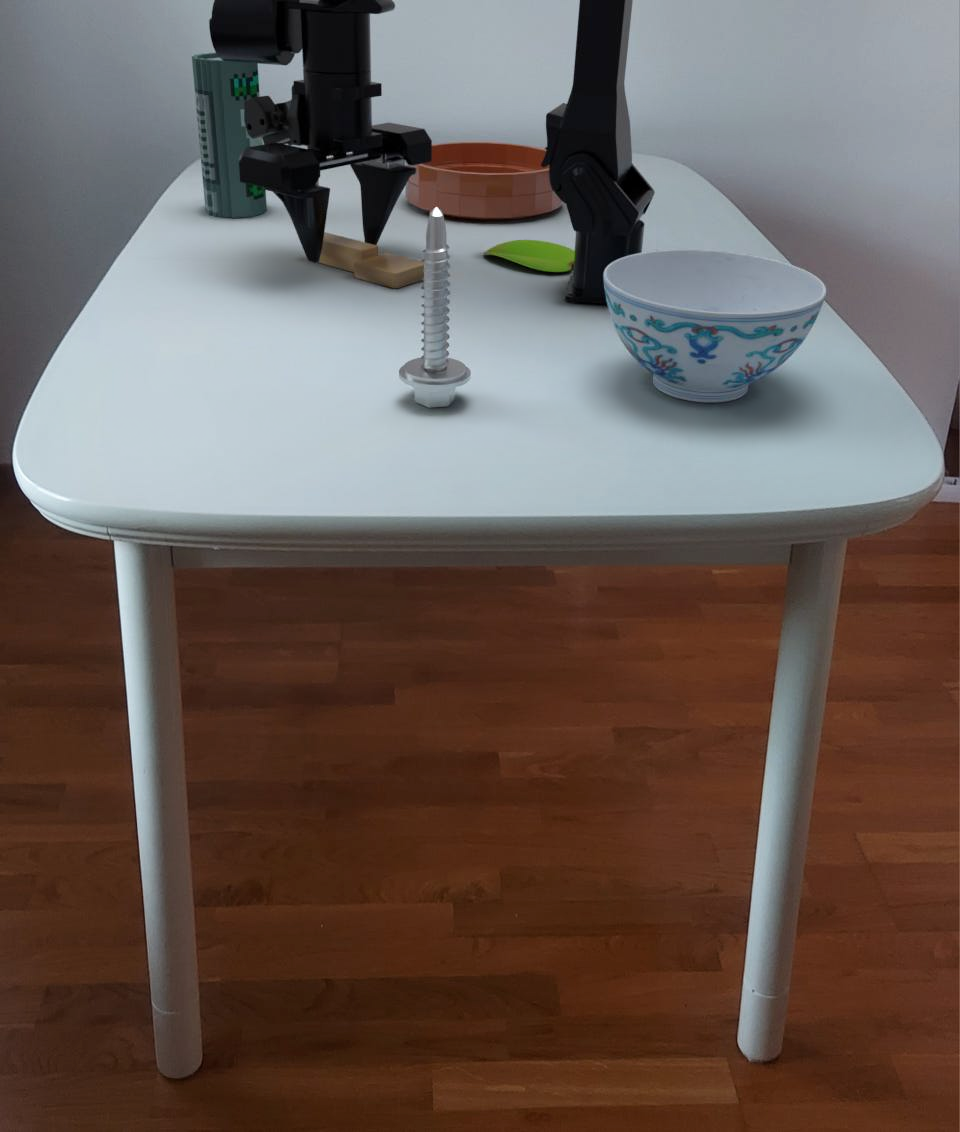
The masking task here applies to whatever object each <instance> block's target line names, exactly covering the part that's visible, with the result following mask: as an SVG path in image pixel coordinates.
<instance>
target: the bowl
mask: <svg viewBox="0 0 960 1132" xmlns="http://www.w3.org/2000/svg"><path fill="white" fill-rule="evenodd" d="M545 154H546V149H545V148H541V147H537V146H533V145H526V144H517V143H511V142H495V141H494V142H493V141H454V142H440V143H434V144H433V143H432V161H431V162H427V163H422V164H418V165H409V164H408V163H407V162H406V161H405V166H410V167H414V168H416V174H414V175H412V176H411V177H410V178H409V180H408V182H407V184H406V185H405V187H404V191H405V198H406V200H407V202H408V203H409V204H411V205H413V206H415V207H417V208H419V209H421V210H426V211H429V212H430V211H431V210H433V209H434V208H436V207H437V208H439V209H440V210H442V212H443V216H447V217H451V218H458V219H467V220H477V221H479V220H480V221H505V220H516V219H517V220H518V219H525V218H530V217H534V216H538V215H542V214H546V213H551V212H552V211H554V210H557V209H559V208H560V207H562V206H563V203H564V202H562V201H561V200H560V198H559V197H558V196H557V195H556V193H555V192H554V191H553V190H552V188H551V185H550V182H549V166H550V165H548V166H546V167H542V166H541V163H542V161H543V159H544V157H545Z"/></svg>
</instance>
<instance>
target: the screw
mask: <svg viewBox="0 0 960 1132" xmlns="http://www.w3.org/2000/svg"><path fill="white" fill-rule="evenodd" d="M425 233H426V234H425V248H424V249H423V250H422V253H424V257H423V259H421V260H420V261H421V262H424V268H423V269H421V270H422V271H424V277H423V278H422V281H423V286H421V289H422V290H423V295H421V296H420V297H421V298H422V299H423V303H422V304H421V305H420V306H421V307H422V308H423V312H422V313H421V314H420V315H421V316H422V317H423V321H421V322H420V324H421V325H422V326H423V329H422V330H421V331H420V333H421V334H423V338H422V339H420V340H421V342H422V343H423V347H421V348H420V349H421V351H422V352H423V355H422V356H420V357H416V358H413V359H410V360H408V361H406V362H405V363H404V364H403V365H401V367H399V369H398V378H399V380H400V381H401V382H402V383H403V384H406V385H408V386H410V387H412V388H414V403H417V404H419V405H421V406H424V407H426V408H428V409H429V408H430V409H431V408H442V407H444V408H446V407H449V406H450V405H451V404H452V403H453V401H454V400H455V397H456V391H455V390H456V389H457V388H459V387H462V386H464V385H465V384H467V383H469V382H470V380H471V378H472V375H471V372H472V371H471V369H470V368H469V367H468V366H467V365H466V364H465V363H463V362H462V361H461V360H458V359H455V358H451V357H449V355H450V352H449V351H448V349H449V348H450V343H449V342H448V340H449V339H450V335H449V333H448V331H449V330H450V325H448V323H449V322H450V316H448V314H449V313H450V311H451V310H450V308H449V307H448V305H450V303H451V301H450V299H449V298H448V297H449V296H450V295H451V291H450V290H449V289H448V288H449V287H450V286H451V282H450V281H449V280H448V279H449V278H450V277H451V273H450V272H449V269H450V268H451V264H450V262H449V260H450V258H451V255H450V254H449V253H448V250H449V249H450V246H449V244H447V229H446V222H445V215H443V212H442V210H440V209H439V208H437V207H436V208H434V209H433V210H431V211H429V217H428V221H427V226H426V232H425Z"/></svg>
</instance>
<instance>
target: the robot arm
mask: <svg viewBox="0 0 960 1132" xmlns="http://www.w3.org/2000/svg"><path fill="white" fill-rule="evenodd" d="M633 1H634V0H579V3H578V4H579V6H578V16H577V30H576V41H575V42H576V43H575V53H574V66H573V79H572V86H571V91H570V94H569V96H568V100H567V103H566V102H562V103H561V104H559V105H558V106H555V108H553V109H552V110H550V111H549V112H547V113H546V114H545V115H546V116H545V131H546V147H547V149H546V154H545V157H544V159H543V161H542V163H541V166H542V167H546V166H548V165H550V166H549V182H550V185H551V188H552V190H553V191H554V192H555V193H556V195H557V196H558V197H559V198H560V200H561V201H562V202H563V203H564V204H565V205H566V209H567V212H568V215H569V219H570V222H571V227H572V229H573V231H574V232H575V241H574V251H575V254H574V265H573V267H572V268H573V270H572V275H570V276H569V280H568V283H567V286H566V289H565V292H564V301H567V302H574V303H588V304H602V305H607V301H606V296H605V289H604V279H603V274H604V270H605V268H606V267H607V266H608V265H609V264H610V263H612V262H614V261H615V260H618V259H620V258H623V257H626V256H629V255H633V254H638V253H643V244H644V233H645V222H644V221H643V220H641V218H642V217H643V215H645V214H646V212H647V211H648V209H649V207H650V205H651V202H652V200H653V198H654V196H655V193H656V192H655V190H654V188H653V187H652V186H651V184H650V183H649V182H648V181H647V179H646V178H645V177H644V176H643V175H642V174H641V172H640V171H639V170H638V168H637V167H636V166H635V165H634V163H633V151H632V150H633V147H632V134H631V131H632V130H631V119H630V114H629V108H628V102H627V101H628V100H627V95H626V89H625V86H626V85H625V78H626V70H627V59H628V50H629V39H630V32H631V31H630V30H631V20H632V11H633V3H634V2H633ZM211 8H212V10H211V18H209V19H208V25H209V26H208V28H209V36H210V40H211V45H212V47H213V49H214V53H217V55H218V56H219V58H221V59H222V60H224V61H231V62H244V63H258V64H260V65H272V66H273V65H274V66H288V65H290V64H291V63H292V61H293V60H294V57H295V55H296V54H299V53H301V51H302V53H301V54H302V74H303V75H302V76H303V79H299V80H293V84H292V86H291V99H290V100H287V101H284V102H278V103H275V101H274V100H273V99H272V98H271V96H269V95H260V97H254V98H251V99H248V100H246V101H244V122H245V126H246V129H247V133H248V135H249V136H250V137H251V138H252V139H256V138H262V142H263V145H259V146H253V147H247V148H245V150H244V151H243V152H242V154H241V155H240V157H239V173H240V182H242V183H246V184H250V185H255V186H259V187H262V188H263V189H264V190H266V191H269V192H272V193H273V194H274V195H275V196H276V197H277V198H278V199H279V200H280V201H281V203H282V205H283V206H284V208H285V210H286V212H287V214H288V215H289V218H290V220H291V222H292V224H293V227H294V229H295V233H296V235H297V238H298V239H299V243H300V245H301V248H302V249H303V252H304V255H305V258H306V259H307V261H308V262H309V263H310V262H311V263H314V264H316V263H319V259H320V255H321V251H322V246H323V239H324V232H326V231H325V230H326V222H327V215H328V208H329V202H330V201H329V200H330V193H331V188H330V187H327V186H322V185H319V184H320V177H321V171H326V170H331V169H335V168H340V167H345V166H350V168H351V170H352V171H353V174H354V175H355V177H356V178H357V181H358V182H359V185H360V201H361V202H360V203H361V219H362V220H361V221H362V232H363V238H364V242H365V243H369V244H373V245H377V246H378V243H379V240H380V239H381V236H382V234H383V232H384V229H385V227H386V225H387V223H388V221H389V218H390V216H391V214H392V212H393V210H394V208H395V207H396V206H395V205H396V204H397V202H398V200H399V198H400V196H401V195H402V193H403V191H404V190H405V185H406V184H407V182H408V180H409V178H410V177H411V176H412V175H414V174H416V168H414V167H410V166H405V161H406V162H407V163H408V164H409V165H418V164H422V163H427V162H431V161H432V145H433V140H432V138H431V137H430V135H429V134H428V132H427V130H425V128H421V127H416V126H410V125H405V124H400V123H393V122H384V123H378V124H373V111H372V109H373V108H372V107H373V106H372V98H377V97H382V95H383V94H382V93H383V91H382V83H381V82H376V81H372V51H371V50H372V47H371V42H372V41H371V15H381V14H385V13H389V12H393V11H394V10H395V9H396V4H395V1H394V0H214V1H213V3H212V7H211ZM299 146H305V147H307V148H303V147H299ZM330 156H331V157H330Z"/></svg>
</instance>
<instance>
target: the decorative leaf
mask: <svg viewBox="0 0 960 1132" xmlns="http://www.w3.org/2000/svg"><path fill="white" fill-rule="evenodd" d="M483 254H484V255H490V256H496V257H499V258H502V259H505V260H508V261H510V262H514V263H516V264H519V265H522V266H524V267H526V268H527V267H528V268H530V269H533V270H537V271H542V272H548V273H549V272H550V273H565V272H569V271H571V270H572V268H573V266H574V254H575V249H572V248H570V247H566V246H564V245H562V244H557V243H554V242H549V241H545V240H535V239H519V240H517V239H516V240H510V241H505V242H502V243H499V244H496V245H494V246H492V247H490V248H488V249H487V250H485V251H484V253H483Z"/></svg>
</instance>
